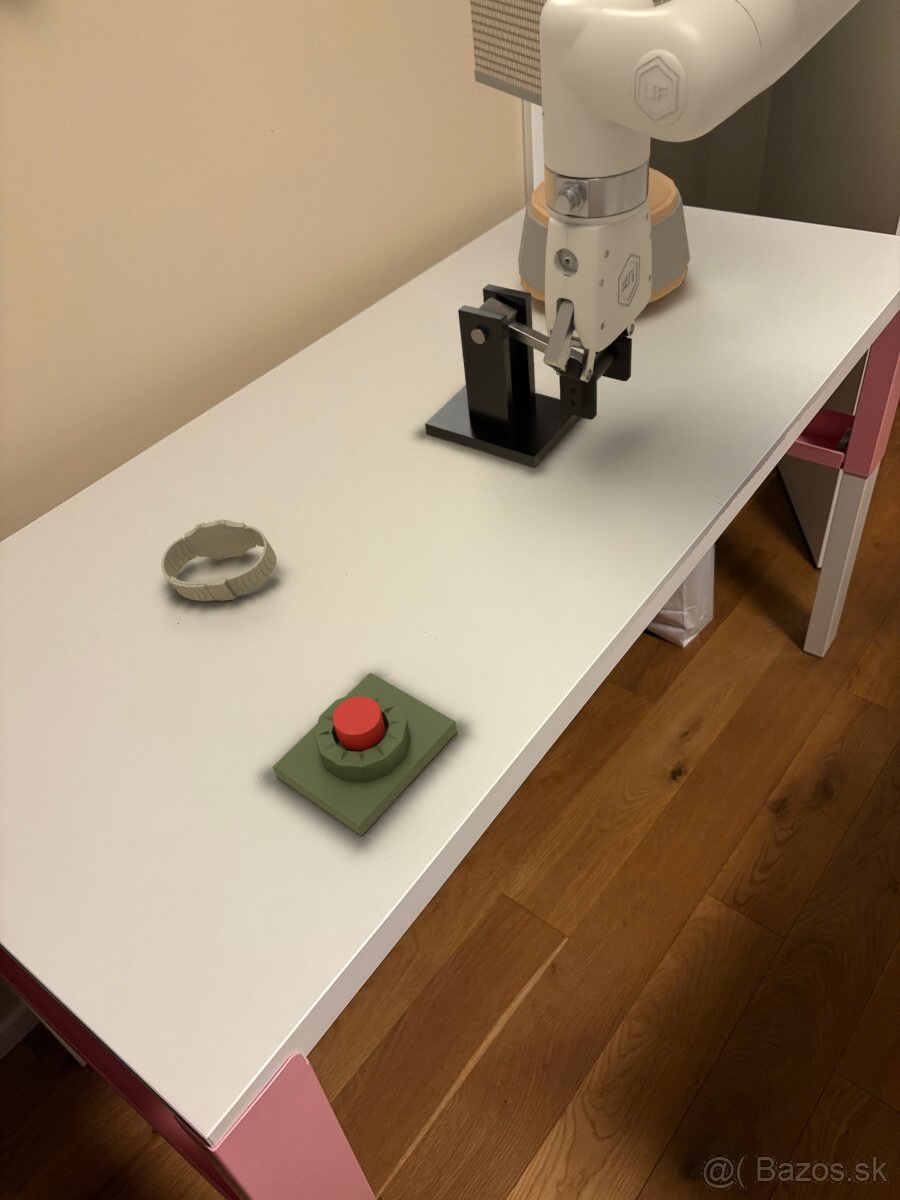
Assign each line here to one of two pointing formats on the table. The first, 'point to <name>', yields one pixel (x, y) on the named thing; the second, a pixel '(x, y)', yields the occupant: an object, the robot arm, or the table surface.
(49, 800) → the table surface
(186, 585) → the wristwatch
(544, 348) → the lever
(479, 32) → the desk lamp
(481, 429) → the bracket
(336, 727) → the button
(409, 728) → the button box
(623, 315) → the robot arm
